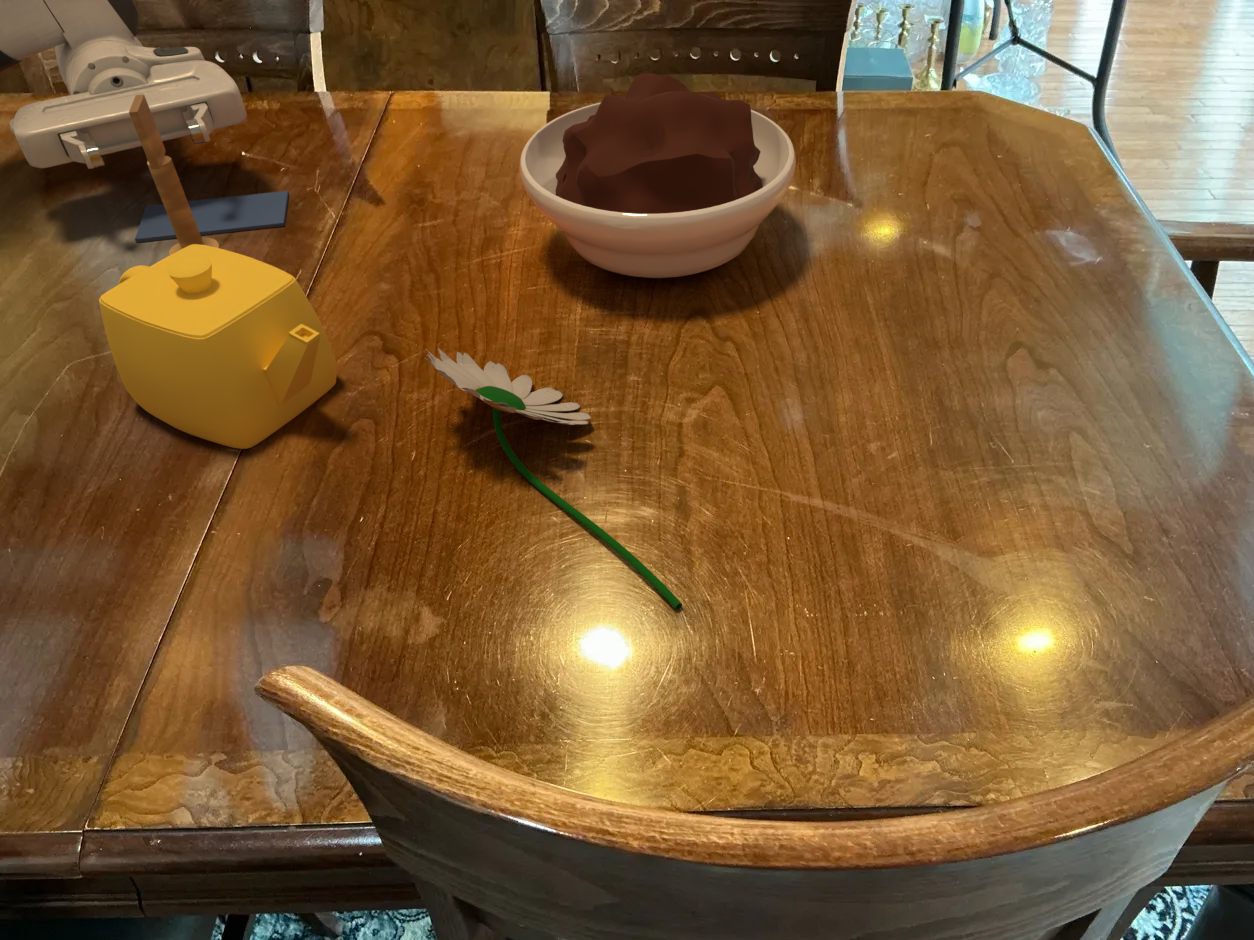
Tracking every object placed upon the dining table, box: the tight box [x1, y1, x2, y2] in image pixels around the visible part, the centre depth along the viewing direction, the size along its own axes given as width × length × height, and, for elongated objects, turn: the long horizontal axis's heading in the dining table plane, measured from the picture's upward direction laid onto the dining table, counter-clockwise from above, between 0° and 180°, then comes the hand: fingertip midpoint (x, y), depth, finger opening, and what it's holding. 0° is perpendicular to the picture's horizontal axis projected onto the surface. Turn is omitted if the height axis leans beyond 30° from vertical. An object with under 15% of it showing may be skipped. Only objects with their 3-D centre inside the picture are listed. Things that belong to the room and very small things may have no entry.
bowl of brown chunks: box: [518, 72, 797, 279], centre depth 98 cm, size 25×25×15 cm
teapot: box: [98, 244, 338, 450], centre depth 83 cm, size 20×12×12 cm, turn 61°
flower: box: [423, 347, 683, 611], centre depth 77 cm, size 13×6×30 cm
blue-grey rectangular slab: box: [134, 190, 290, 243], centre depth 108 cm, size 14×7×1 cm, turn 102°
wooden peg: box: [129, 94, 221, 256], centre depth 95 cm, size 4×4×16 cm
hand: (147, 147), depth 99 cm, fingers open, 8 cm apart
